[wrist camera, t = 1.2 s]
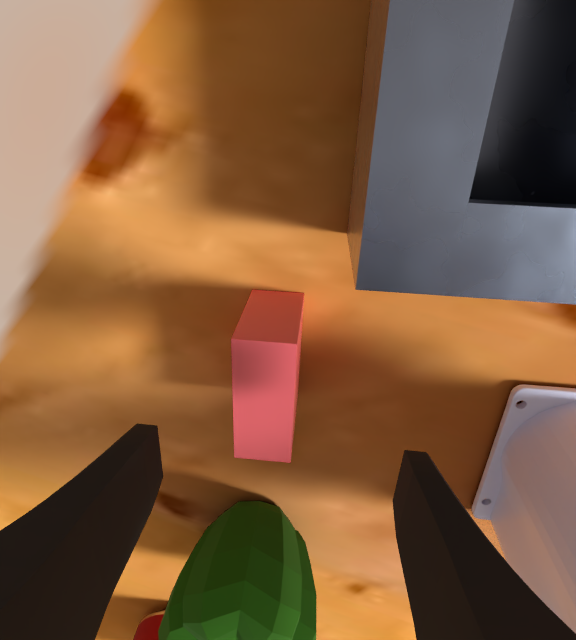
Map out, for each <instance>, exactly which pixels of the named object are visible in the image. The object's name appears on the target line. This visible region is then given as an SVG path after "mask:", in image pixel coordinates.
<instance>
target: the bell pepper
mask: <svg viewBox="0 0 576 640" xmlns="http://www.w3.org/2000/svg"><path fill="white" fill-rule="evenodd" d="M158 637H159V640H316V591H315V585H314V580H313V575H312V569H311V564H310V560H309V556H308V552H307V548H306V544H305V541H304V540H303V538H302V536H301V535H300V533H299V532H298V531H297V530H295V529H294V527H293V525H292V524H291V522H290V520H289V519H288V518H287V517H286V515H285V514H284V513H283V511H282V510H281V509H280V507H278V506H275V505H272V504H268V503H265V502H262V501H240V502H237V503H236V504H235V505H233V506H232V507H231V508H229V509H228V510H226V511H225V512H224V513H223V514H222V515H220V516H219V517H218V518H217V520H216V521H214V522H213V523H212V524H211V525H210V526H208V527H207V529H206V530H205V532H204V533H203V535H202V537H201V538H200V540H199V541H198V543H197V544H196V546H195V548H194V549H193V551H192V553H191V555H190V557H189V558H188V560H187V562H186V564H185V566H184V567H183V569H182V571H181V573H180V575H179V577H178V579H177V581H176V584H175V586H174V588H173V590H172V592H171V595H170V598H169V601H168V604H167V607H166V610H165V613H164V615H163V618H162V621H161V624H160V627H159V630H158Z"/></svg>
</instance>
